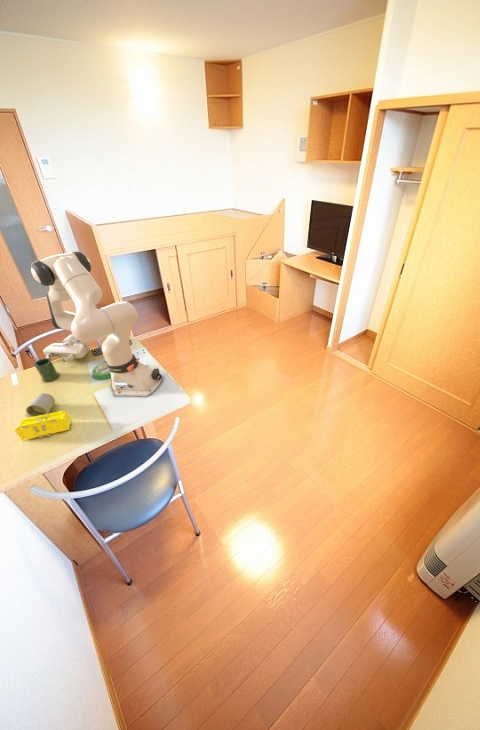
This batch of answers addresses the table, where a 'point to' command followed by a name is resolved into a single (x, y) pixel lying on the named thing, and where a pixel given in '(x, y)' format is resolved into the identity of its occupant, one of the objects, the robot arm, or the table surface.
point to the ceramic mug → (40, 405)
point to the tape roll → (101, 375)
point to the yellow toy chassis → (43, 425)
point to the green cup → (46, 369)
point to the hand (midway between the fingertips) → (55, 360)
